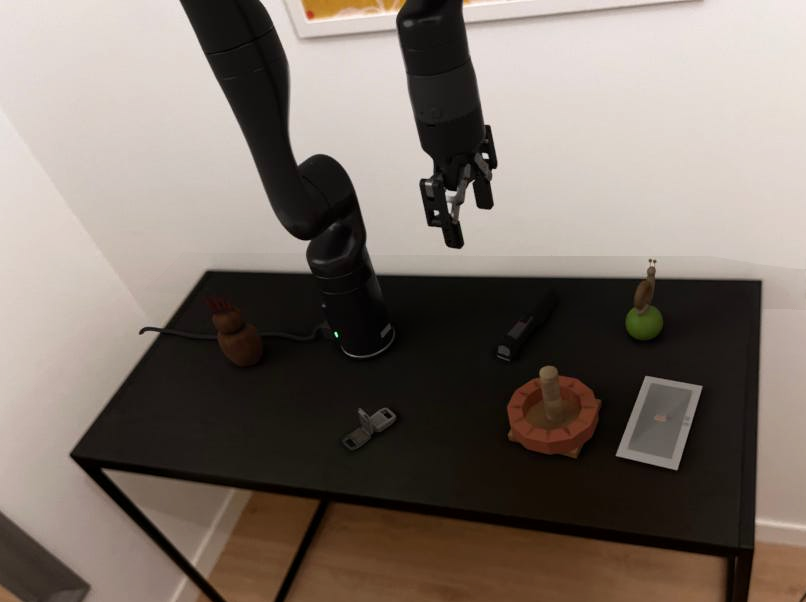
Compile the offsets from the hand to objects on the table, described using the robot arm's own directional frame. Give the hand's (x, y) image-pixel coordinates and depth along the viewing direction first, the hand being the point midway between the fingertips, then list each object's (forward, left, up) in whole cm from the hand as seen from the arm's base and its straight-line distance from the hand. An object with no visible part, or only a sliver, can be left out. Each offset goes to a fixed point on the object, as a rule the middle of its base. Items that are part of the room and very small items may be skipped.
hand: (471, 227), depth 89 cm
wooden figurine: (-45, -8, -28) cm, 54 cm away
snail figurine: (+17, +16, -28) cm, 37 cm away
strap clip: (-15, -15, -28) cm, 35 cm away
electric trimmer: (-1, +12, -28) cm, 31 cm away
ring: (+11, -6, -27) cm, 29 cm away
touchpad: (+24, -1, -28) cm, 37 cm away
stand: (+11, -5, -28) cm, 30 cm away
